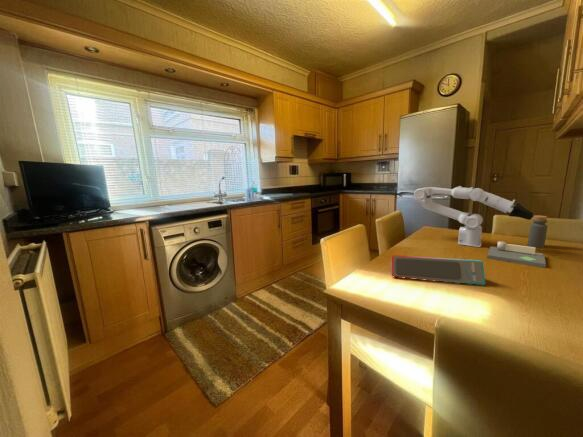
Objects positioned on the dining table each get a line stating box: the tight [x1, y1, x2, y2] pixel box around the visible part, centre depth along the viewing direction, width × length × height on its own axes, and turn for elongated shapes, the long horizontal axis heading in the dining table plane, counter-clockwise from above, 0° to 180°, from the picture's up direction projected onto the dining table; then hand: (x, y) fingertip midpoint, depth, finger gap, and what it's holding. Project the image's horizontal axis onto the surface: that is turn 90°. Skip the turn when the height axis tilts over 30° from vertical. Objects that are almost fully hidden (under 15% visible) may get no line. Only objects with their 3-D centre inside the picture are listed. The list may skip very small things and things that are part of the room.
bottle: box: [527, 214, 548, 249], centre depth 118 cm, size 6×6×15 cm
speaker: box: [390, 254, 486, 286], centre depth 91 cm, size 9×10×30 cm
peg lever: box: [496, 240, 543, 255], centre depth 107 cm, size 15×3×3 cm, turn 46°
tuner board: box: [486, 246, 547, 269], centre depth 106 cm, size 18×15×2 cm
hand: (531, 216), depth 108 cm, fingers open, 7 cm apart
